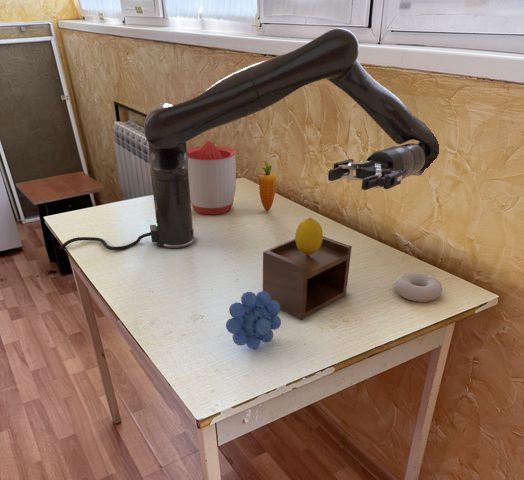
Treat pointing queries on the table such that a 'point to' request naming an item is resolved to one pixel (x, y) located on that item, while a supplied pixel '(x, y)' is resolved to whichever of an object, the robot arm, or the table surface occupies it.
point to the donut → (418, 287)
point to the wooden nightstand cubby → (306, 276)
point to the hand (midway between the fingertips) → (346, 180)
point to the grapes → (253, 319)
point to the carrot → (267, 187)
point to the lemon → (309, 236)
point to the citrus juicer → (211, 178)
